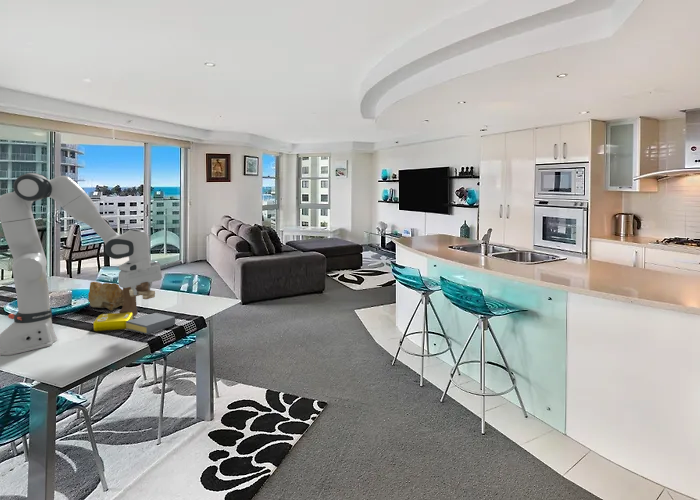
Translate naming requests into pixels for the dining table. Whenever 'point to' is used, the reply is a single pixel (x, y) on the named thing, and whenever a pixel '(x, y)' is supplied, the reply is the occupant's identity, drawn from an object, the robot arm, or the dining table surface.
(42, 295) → the robot arm
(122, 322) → the element tile
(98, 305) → the rough brown rock
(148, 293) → the tan stepped block
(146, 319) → the dock
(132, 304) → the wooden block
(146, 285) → the brown box
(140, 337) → the dining table surface
